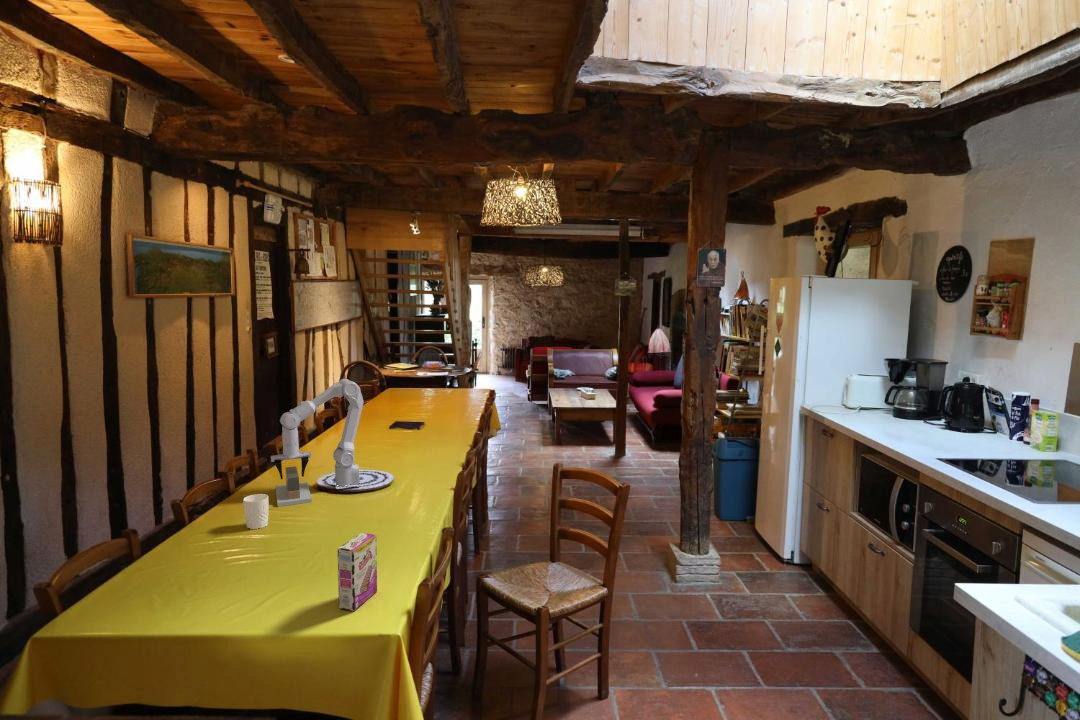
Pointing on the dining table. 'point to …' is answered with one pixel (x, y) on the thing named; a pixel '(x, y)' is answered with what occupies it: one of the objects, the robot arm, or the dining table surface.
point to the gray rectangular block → (292, 478)
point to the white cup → (256, 510)
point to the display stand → (293, 495)
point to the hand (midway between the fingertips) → (292, 477)
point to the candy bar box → (357, 571)
